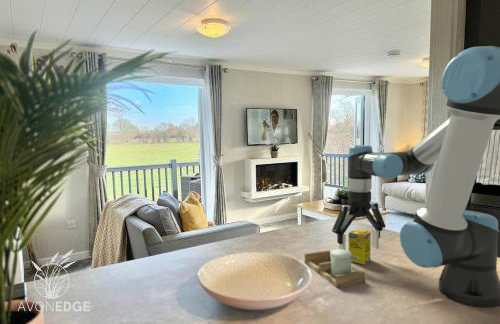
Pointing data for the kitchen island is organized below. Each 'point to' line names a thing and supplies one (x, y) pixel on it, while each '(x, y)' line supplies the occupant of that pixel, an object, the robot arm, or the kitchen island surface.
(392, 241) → the kitchen island surface
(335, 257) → the pale green cylinder
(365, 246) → the supplement box
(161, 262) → the kitchen island surface
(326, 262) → the caddy
